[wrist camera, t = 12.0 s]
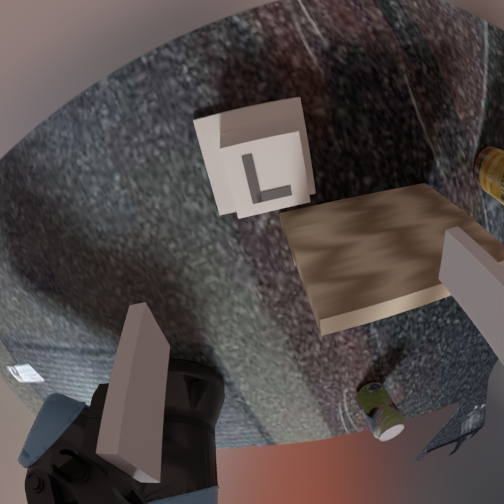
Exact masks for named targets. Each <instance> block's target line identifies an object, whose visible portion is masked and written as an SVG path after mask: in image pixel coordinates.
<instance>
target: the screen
mask: <svg viewBox="0 0 504 504" xmlns="http://www.w3.org/2000/svg"><path fill="white" fill-rule="evenodd" d="M279 214H280V220H281V225H282V228H283V231H284V233H285V236H286V239H287V241H288V244H289V247H290V250H291V255H292V261H293V263H294V266H297V269H298V271H299V274H300V277H301V280H302V282H303V285H304V288H305V291H306V294H307V296H308V299H309V302H310V305H311V308H312V311H313V313H314V316H315V319H316V322H317V325H318V328H319V331H320V334H321V336H322V335H326V334H330V333H334V332H337V331H341V330H345V329H348V328H352V327H355V326H359V325H362V324H366V323H369V322H372V321H376V320H379V319H382V318H386V317H389V316H392V315H395V314H398V313H401V312H404V311H407V310H410V309H413V308H416V307H419V306H422V305H425V304H428V303H431V302H434V301H437V300H439V299H442V298H445V297H448V296H450V295H451V293H450V292H449V291H448V290H447V288H446V287H445V286H444V285H443V284H442V282H441V281H440V280H439V279H438V278H439V272H440V266H441V260H442V253H443V246H444V239H445V230H446V229H450V228H454V227H457V226H458V227H459V228H461V229H462V230H463V231H464V232H465V233H466V234H467V235H469V236H470V237H471V238H472V239H473V240H474V241H475V242H477V243H478V244H479V245H480V246H481V247H482V248H483V249H484V250H485V251H486V252H487V253H488V254H490V255H491V256H492V257H493V258H494V259H495V260H496V261H497V262H498V263H499V264H500V265H501V266H502V267H503V268H504V245H503V244H502V243H501V242H499V241H498V240H497V239H496V238H495V237H494V236H493V235H491V234H490V233H489V232H488V231H487V230H486V229H484V228H483V227H482V226H481V225H479V224H478V223H477V222H476V221H475V220H473V219H472V218H471V217H470V216H468V215H467V214H466V213H465V212H463V211H462V210H461V209H459V208H458V207H457V206H456V205H454V204H453V203H452V202H450V201H449V200H448V199H446V198H445V197H444V196H442V195H441V194H439V193H438V192H437V191H435V190H434V189H432V188H431V187H430V186H428V185H427V184H425V183H422V184H417V185H412V186H407V187H401V188H396V189H391V190H386V191H381V192H376V193H371V194H366V195H361V196H357V197H352V198H347V199H342V200H337V201H333V202H328V203H323V204H319V205H314V206H310V207H305V208H300V209H296V210H291V211H287V212H283V213H279Z"/></svg>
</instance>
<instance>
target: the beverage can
mask: <svg viewBox="0 0 504 504" xmlns="http://www.w3.org/2000/svg"><path fill="white" fill-rule="evenodd" d="M356 401H357V403H358V405H359V407H360V409H361V411H362V413H363V415H364V417H365V419H366V421H367V423H368V425H369V427H370V429H371V431H372V432H373V435H374V436H375V437H376V438H378V439H379V440H380V441H387V440H389V439H392V438H394V437H395V436H397V435H398V434H399V433H400V432H401V431H402V430H403V428H404V425H403V422H404V420H403V417H402V416H401V414H400V412H399V411H398V409H397V407H396V406H395V404H394V402H393V401H392V399H391V397H390V396H389V394H388V392H387V391H386V389H385V387H384V386H383V384H382V383H379V382H374V383H369V384H367V385H365V386H363V387H362V388H361V389H360V390H359V392H358V393H357V395H356Z"/></svg>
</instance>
